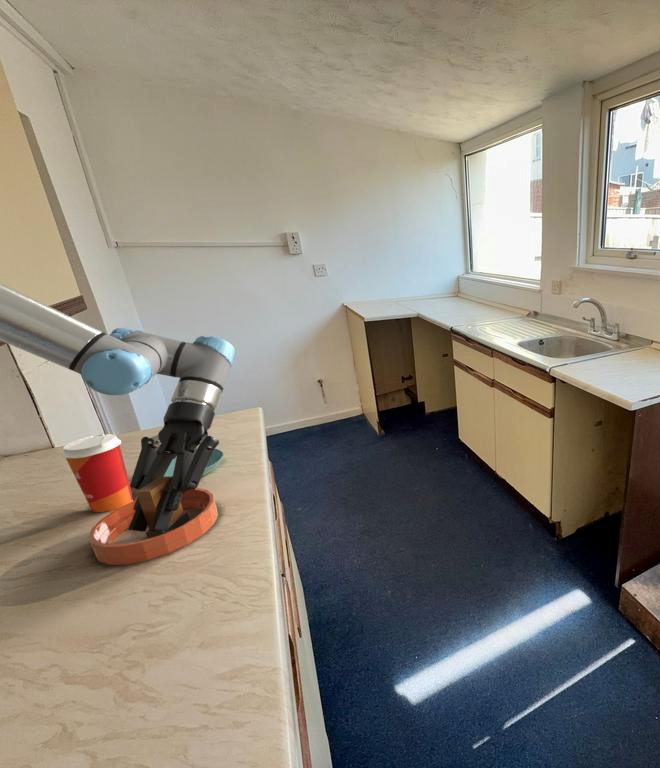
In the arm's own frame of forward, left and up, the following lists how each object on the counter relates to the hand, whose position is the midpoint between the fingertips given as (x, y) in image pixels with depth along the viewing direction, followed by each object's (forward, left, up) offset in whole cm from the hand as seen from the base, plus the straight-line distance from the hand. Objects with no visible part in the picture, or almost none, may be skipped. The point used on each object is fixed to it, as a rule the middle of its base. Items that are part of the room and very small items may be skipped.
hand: (147, 530), depth 69 cm
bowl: (-2, +4, -4) cm, 6 cm away
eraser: (0, +4, -3) cm, 5 cm away
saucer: (-14, +27, -4) cm, 30 cm away
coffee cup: (-19, +13, -4) cm, 23 cm away
